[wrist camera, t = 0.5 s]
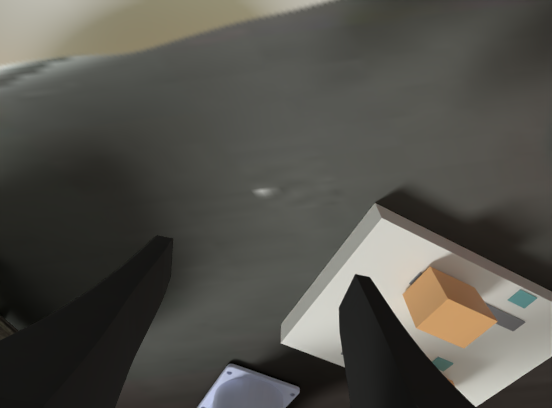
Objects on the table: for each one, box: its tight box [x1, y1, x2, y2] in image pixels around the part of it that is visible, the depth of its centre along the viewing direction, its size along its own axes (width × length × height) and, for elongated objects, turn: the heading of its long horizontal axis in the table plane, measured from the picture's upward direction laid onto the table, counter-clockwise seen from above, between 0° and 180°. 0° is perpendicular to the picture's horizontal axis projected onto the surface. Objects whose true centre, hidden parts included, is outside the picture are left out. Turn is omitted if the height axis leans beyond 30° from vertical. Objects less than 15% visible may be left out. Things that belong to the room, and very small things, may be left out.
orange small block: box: [402, 267, 498, 348], centre depth 22 cm, size 3×4×3 cm
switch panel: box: [281, 203, 552, 407], centre depth 27 cm, size 14×20×2 cm
